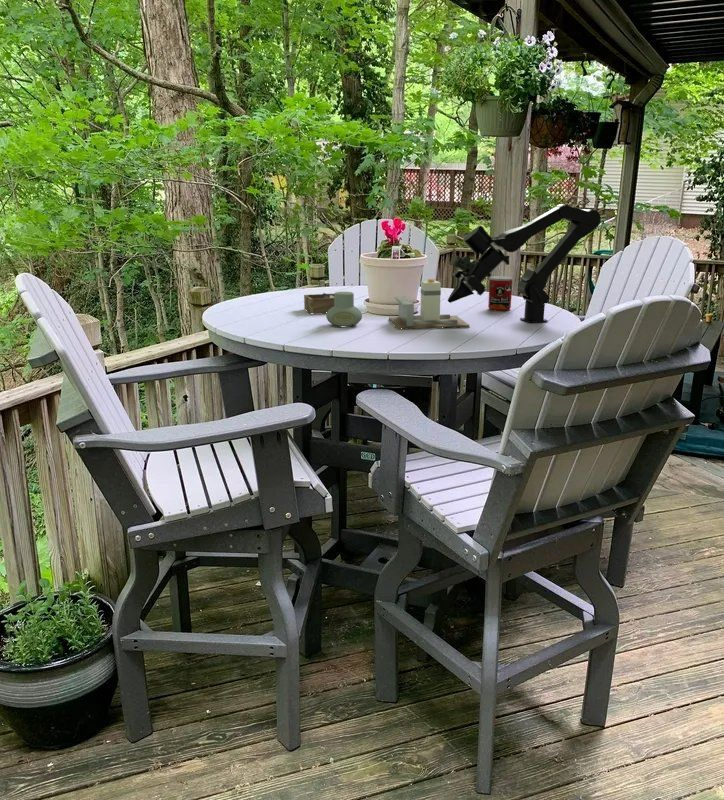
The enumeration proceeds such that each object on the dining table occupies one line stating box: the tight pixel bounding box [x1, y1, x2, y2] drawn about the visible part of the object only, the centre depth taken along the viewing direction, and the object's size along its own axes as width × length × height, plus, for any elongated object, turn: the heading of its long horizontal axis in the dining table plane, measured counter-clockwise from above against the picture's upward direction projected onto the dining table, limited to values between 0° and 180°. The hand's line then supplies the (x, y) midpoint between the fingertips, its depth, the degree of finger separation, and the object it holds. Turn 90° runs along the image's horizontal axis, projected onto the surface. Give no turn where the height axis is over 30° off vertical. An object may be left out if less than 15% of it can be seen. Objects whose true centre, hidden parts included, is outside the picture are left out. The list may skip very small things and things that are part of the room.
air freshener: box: [325, 291, 363, 327], centre depth 210 cm, size 11×8×10 cm
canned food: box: [488, 275, 513, 312], centre depth 237 cm, size 8×8×11 cm
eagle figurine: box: [316, 292, 334, 299], centre depth 235 cm, size 8×7×9 cm
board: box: [388, 313, 471, 330], centre depth 213 cm, size 22×16×2 cm
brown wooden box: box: [303, 293, 335, 314], centre depth 235 cm, size 10×13×5 cm
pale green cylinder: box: [419, 278, 442, 320], centre depth 212 cm, size 5×5×13 cm
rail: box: [394, 296, 415, 326], centre depth 211 cm, size 3×15×7 cm, turn 7°
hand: (448, 301), depth 212 cm, fingers closed
